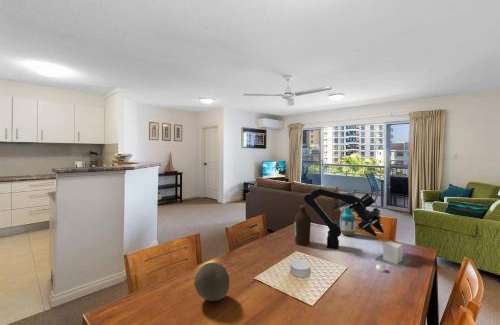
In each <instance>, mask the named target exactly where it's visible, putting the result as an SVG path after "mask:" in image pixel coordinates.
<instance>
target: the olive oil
mask: <svg viewBox="0 0 500 325" xmlns="http://www.w3.org/2000/svg"><path fill="white" fill-rule="evenodd" d="M293 219H294V222H293V224H294V243H295V244H296V245H298V246H302V247H303V246H309V245H310V242H311V240H310V239H311V223H312V222H311V221H312V220H311V216H310V215H309V214H308V213H307V212H306V206H305V205H299V212H297V213H296V215H295V216H294V218H293Z"/></svg>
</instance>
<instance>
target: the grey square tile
mask: <svg viewBox="0 0 500 325" xmlns="http://www.w3.org/2000/svg"><path fill="white" fill-rule="evenodd" d="M374 260H376V261H378V262H380V263H384V264H387V265H390V266H393V267H395V268H399V269H403V268H404V267H406V266H407V265H408V264H409V263H410V262H412V260H411V259H407V258H404V257H402V261H401V262H399V263H398V264H395V263H392V262H389V261H386V260H383V253H382V254H380V255H378V256H377V257H375V258H374Z"/></svg>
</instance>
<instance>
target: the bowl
mask: <svg viewBox="0 0 500 325" xmlns="http://www.w3.org/2000/svg"><path fill="white" fill-rule="evenodd" d="M375 269H376V271H377V272H379V273H385V272H386V266H385V265H384V264H380V263H379V264H378V263H377V264H376V266H375Z"/></svg>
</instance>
